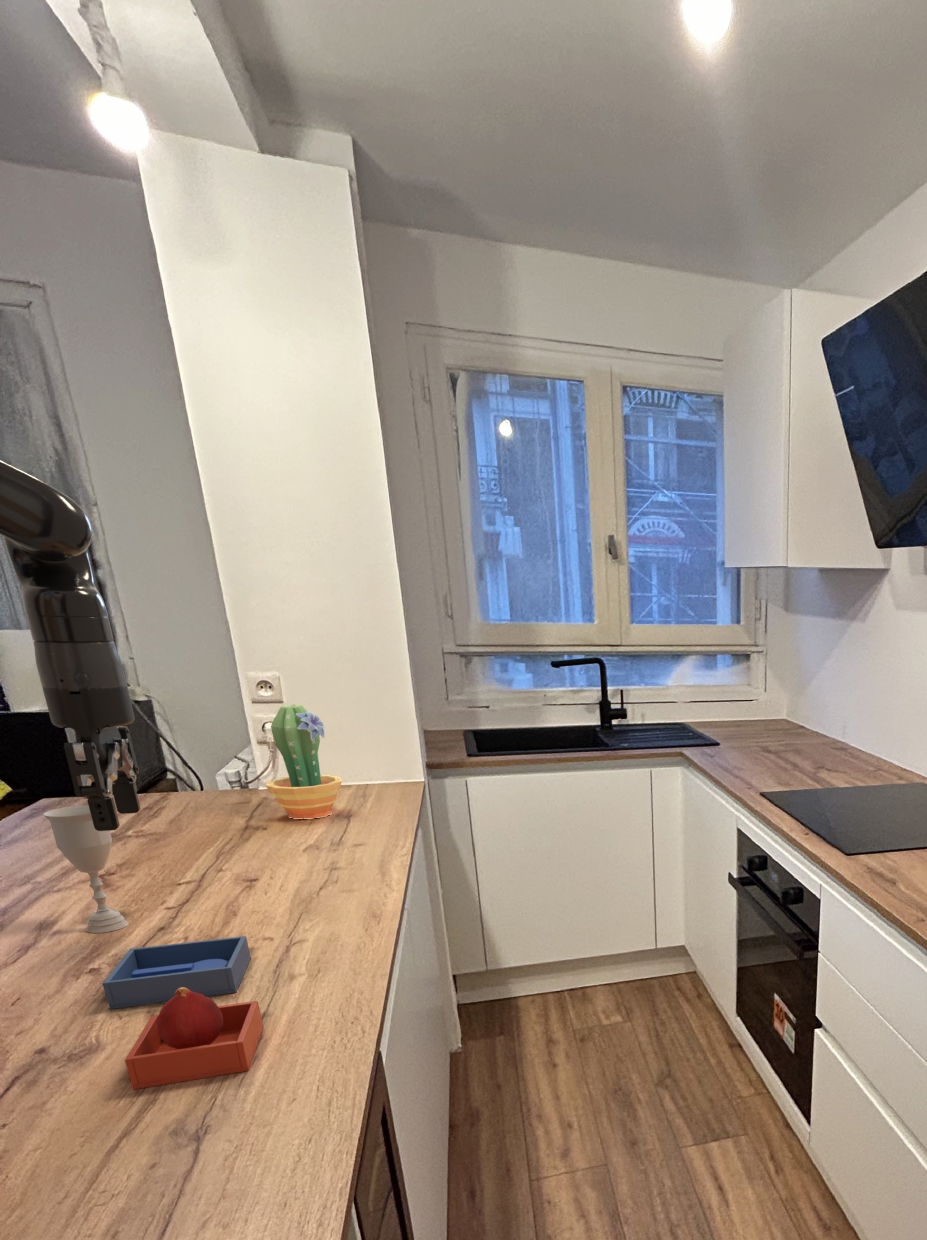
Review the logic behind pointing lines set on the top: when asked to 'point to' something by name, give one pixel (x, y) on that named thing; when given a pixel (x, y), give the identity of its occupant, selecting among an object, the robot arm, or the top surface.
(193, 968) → the blue paddle
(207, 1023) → the onion
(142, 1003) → the blue bin
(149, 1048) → the terracotta bin
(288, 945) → the top surface
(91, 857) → the chalice
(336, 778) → the potted cactus
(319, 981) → the top surface
